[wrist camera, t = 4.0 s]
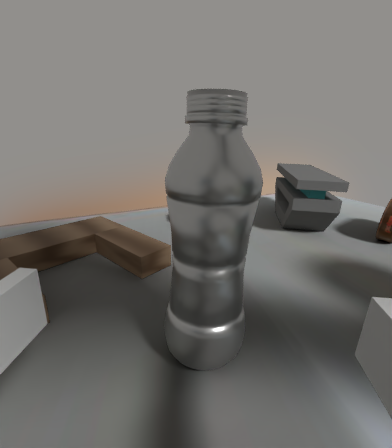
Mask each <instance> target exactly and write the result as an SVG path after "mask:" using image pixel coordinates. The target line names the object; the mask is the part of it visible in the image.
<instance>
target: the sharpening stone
mask: <svg viewBox="0 0 392 448" xmlns="http://www.w3.org/2000/svg"><path fill="white" fill-rule="evenodd" d="M277 170H278V171H279V172H280V173H281V174H282V175H283V176H284V177H285V178H281V177H277V178H276V185H275V189H276V190H275V212H276V215H277V217H278V219H279V221H280V223H281V226H282V228H288V229H300V230H313V231H324V230H325V229H326V228H327V227H328V226H329V225H330V224H331V222H332V221H333V220H334V219H335V218H336V217H337V216H338V215H339V213H340V209H341V204H342V201H341V200H340V199H338V198H337V197H335V196H334V195H332V194H331V193H329V192H328V191H336V192H347V190H348V186H349V182H346V181H344V180H342V179H340V178H338V177H336V176H333V175H331V174H329V173H327V172H325V171H322V170H320V169H318V168H315V167H314V166H311V165H300V164H279V163H278V166H277Z"/></svg>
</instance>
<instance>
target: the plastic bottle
mask: <svg viewBox="0 0 392 448" xmlns="http://www.w3.org/2000/svg"><path fill="white" fill-rule="evenodd" d="M187 94H188V95H187V116H185V123H186V124H189V125H190V131H189V136H188V137H187V138H186V140H185V141H184V142H183V144H182V145H181V147H180V148H179V149H178V151H177V153H176V154H175V156H174V158H173V159H172V161H171V163H170V164H169V167H168V171H167V174H166V177H165V186H166V194H167V204H168V211H169V218H170V225H171V232H172V251H173V271H172V281H171V290H170V300H169V303H168V306H167V310H166V316H165V322H164V332H165V337H166V342H167V346H168V349H169V350H170V352H171V354H172V355H173V356H174V357H175V358H176V359H177V360H178V361H179V362H181V363H182V364H183V365H185V366H187V367H189V368H192V369H196V370H213V369H217V368H220V367H222V366H224V365H225V364H227V363H228V362H230V361H231V360H232V359H233V358H234V357H235V356H236V355H237V354H238V352H239V350H240V348H241V345H242V342H243V339H244V335H245V313H244V306H243V279H244V266H245V260H246V259H245V256H246V254H247V249H248V243H249V237H250V232H251V229H252V225H253V221H254V218H255V214H256V210H257V207H258V203H259V198H260V196H261V191H262V186H263V180H262V174H261V169H260V167H259V165H258V163H257V160H256V158H255V156H254V154H253V153H252V151H251V150H250V148H249V146H248V145H247V143H246V142H245V140H244V138H243V136H242V126H244V125H247V122H248V118H246V113H247V112H246V111H247V98H248V97H247V93H246V92H242V91H237V90H228V89H197V90H191V91H188V92H187Z"/></svg>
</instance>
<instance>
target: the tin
mask: <svg viewBox="0 0 392 448" xmlns="http://www.w3.org/2000/svg"><path fill="white" fill-rule="evenodd" d="M376 238H377V239H380V240H383V241H386V242H390V243H392V199H391V200H390V202H389V203H388V205H387V207H386V209H385V211H384V213H383V215H382V218H381V220H380V223H379V226H378V229H377V233H376Z"/></svg>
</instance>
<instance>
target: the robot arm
mask: <svg viewBox="0 0 392 448" xmlns="http://www.w3.org/2000/svg"><path fill="white" fill-rule="evenodd" d="M47 324H48V323H47V318H46V313H45V308H44V303H43V297H42V292H41V287H40V282H39V277H38V271H37V269H30V268H18V269H17V270H15V271H14V272H12V273H11V274H9V275H8V276H6V277H5V278H3V279H2V280H0V374H1V373H2V372H3V371H4V370H5V369H6V368H7V367H8V366H9V365H10V364H11V362H12V361H13V360H14V359H15V358H16V357H17V356H18V355H19V354H20V353H21V352H22V351H23V350H24V348H25V347H26V346H27V345H28V344H29V343H30V342H31V341H32V340H33V339H34V338H35V337H36V336H37V334H38V333H39V332H40V331H41V330H42V329H43V328H44V327H45V326H46V325H47ZM355 357H356V358H357V360H358V362H359V363H360V365H361V367H362V369H363V370H364V372H365V374H366V375H367V377H368V379H369V381H370V382H371V384H372V386H373V387H374V389H375V391H376V393H377V394H378V396H379V398H380V399H381V401H382V403H383V405H384V406H385V408H386V410H387V411H388V413H389V415H390V417H391V418H392V298H381V297H372V298H371V301H370V304H369V308H368V311H367V314H366V318H365V321H364V324H363V328H362V331H361V335H360V338H359V341H358V345H357V348H356V351H355Z"/></svg>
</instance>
